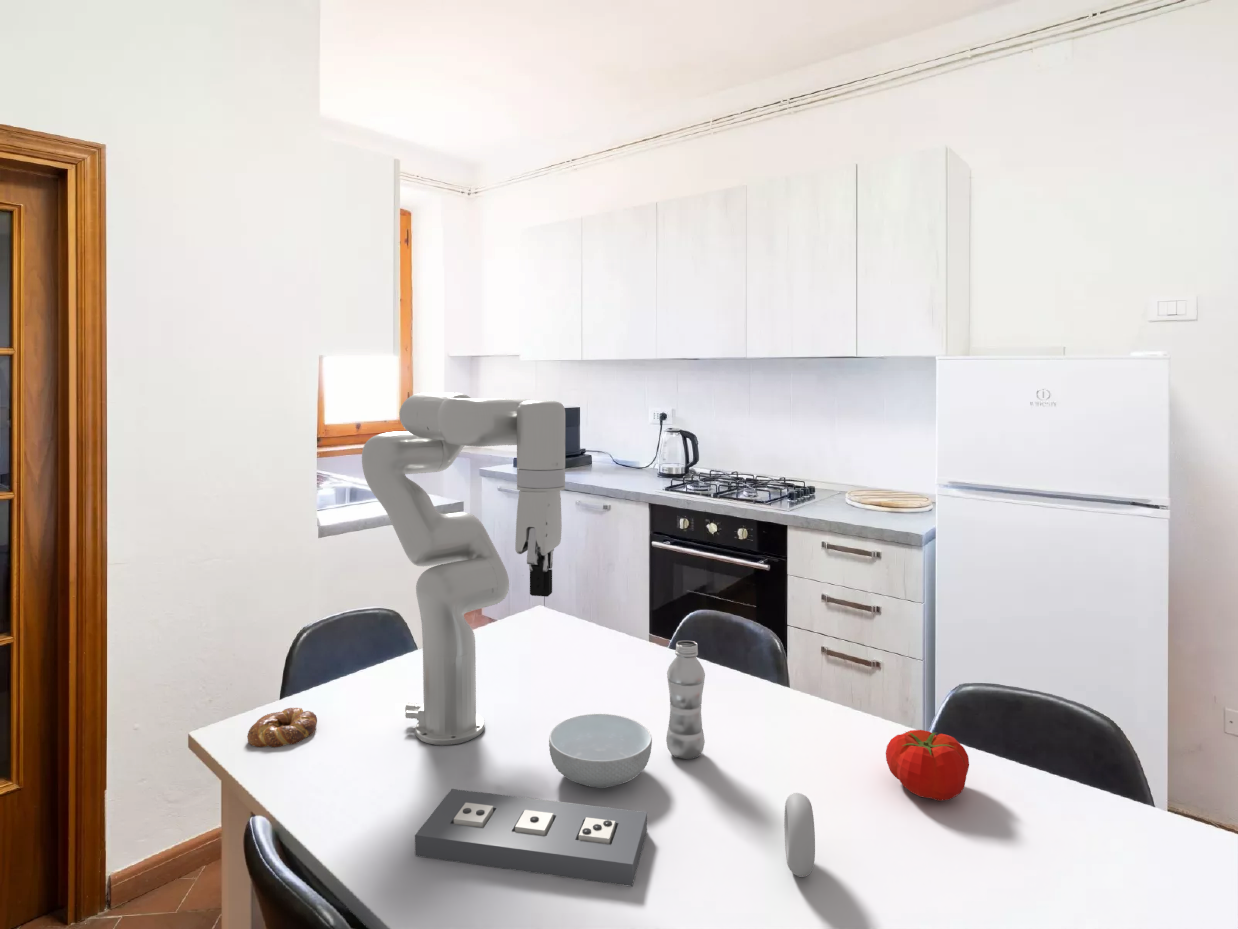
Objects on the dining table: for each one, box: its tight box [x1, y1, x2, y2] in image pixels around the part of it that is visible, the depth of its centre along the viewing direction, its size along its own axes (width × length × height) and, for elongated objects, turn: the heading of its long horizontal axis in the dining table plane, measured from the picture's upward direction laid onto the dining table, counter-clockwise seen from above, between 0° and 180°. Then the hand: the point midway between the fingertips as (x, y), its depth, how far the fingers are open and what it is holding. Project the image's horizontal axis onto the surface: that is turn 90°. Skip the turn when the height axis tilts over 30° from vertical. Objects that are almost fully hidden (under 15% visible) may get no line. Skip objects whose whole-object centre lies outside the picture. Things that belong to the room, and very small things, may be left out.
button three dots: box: [579, 817, 615, 844], centre depth 100 cm, size 4×4×3 cm
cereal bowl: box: [548, 713, 653, 789], centre depth 120 cm, size 17×17×7 cm
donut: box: [783, 792, 816, 878], centre depth 97 cm, size 10×4×10 cm, turn 172°
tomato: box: [885, 729, 970, 802], centre depth 117 cm, size 14×13×9 cm
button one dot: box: [515, 810, 553, 836], centre depth 102 cm, size 4×4×3 cm
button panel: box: [414, 788, 648, 887], centre depth 102 cm, size 30×12×3 cm, turn 79°
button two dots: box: [454, 803, 493, 828], centre depth 103 cm, size 4×4×3 cm
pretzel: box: [246, 707, 318, 748], centre depth 134 cm, size 12×11×4 cm
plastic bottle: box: [665, 640, 706, 760], centre depth 127 cm, size 6×7×20 cm
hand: (541, 594), depth 116 cm, fingers closed
